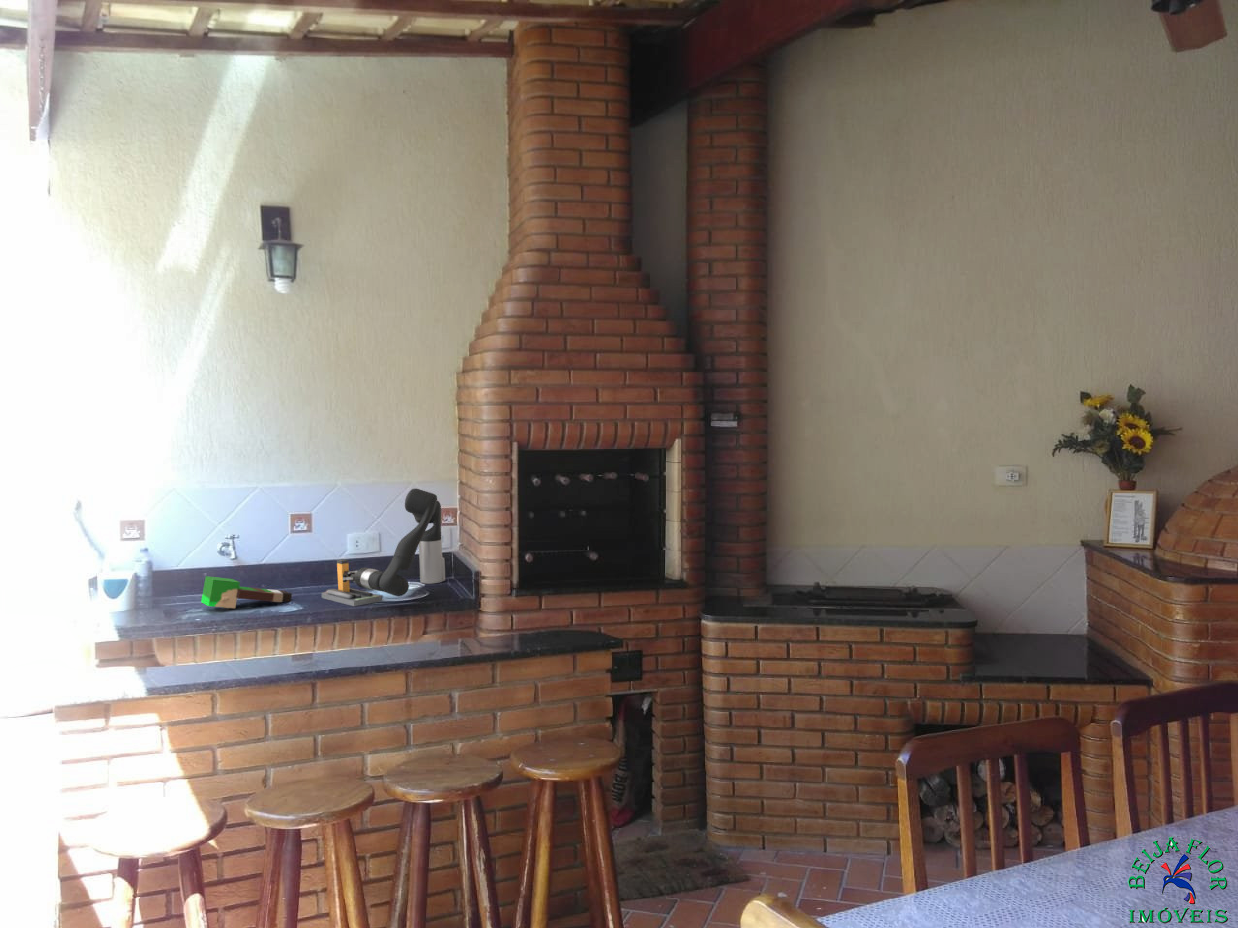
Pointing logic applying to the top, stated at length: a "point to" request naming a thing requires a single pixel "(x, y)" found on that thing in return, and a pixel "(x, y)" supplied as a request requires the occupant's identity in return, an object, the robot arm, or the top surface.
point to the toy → (237, 593)
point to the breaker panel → (351, 601)
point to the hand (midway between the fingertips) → (345, 573)
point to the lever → (341, 567)
